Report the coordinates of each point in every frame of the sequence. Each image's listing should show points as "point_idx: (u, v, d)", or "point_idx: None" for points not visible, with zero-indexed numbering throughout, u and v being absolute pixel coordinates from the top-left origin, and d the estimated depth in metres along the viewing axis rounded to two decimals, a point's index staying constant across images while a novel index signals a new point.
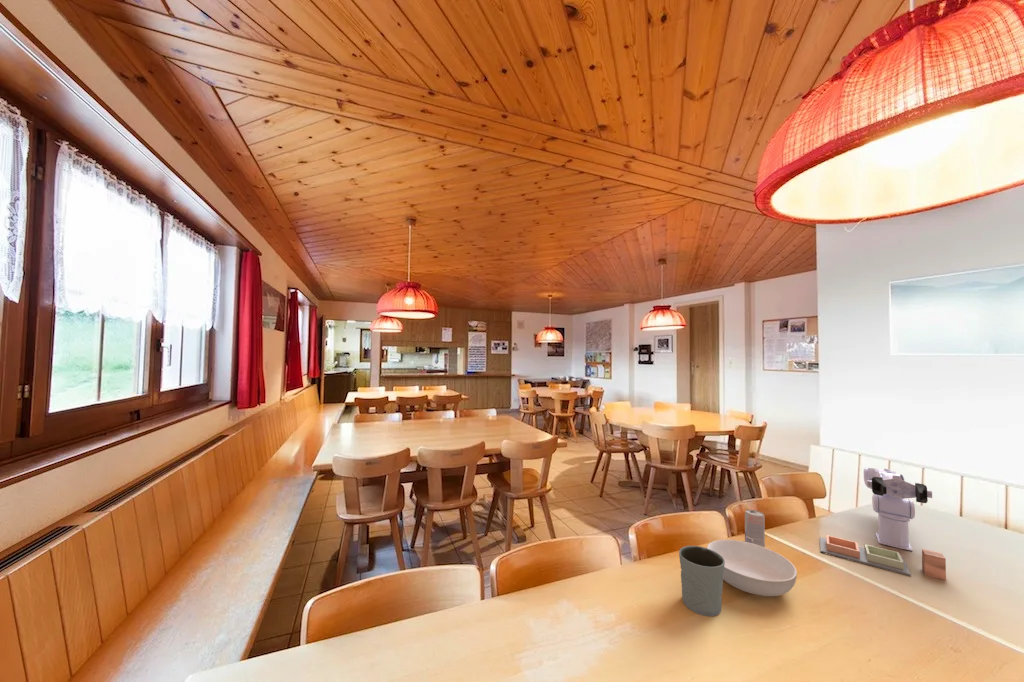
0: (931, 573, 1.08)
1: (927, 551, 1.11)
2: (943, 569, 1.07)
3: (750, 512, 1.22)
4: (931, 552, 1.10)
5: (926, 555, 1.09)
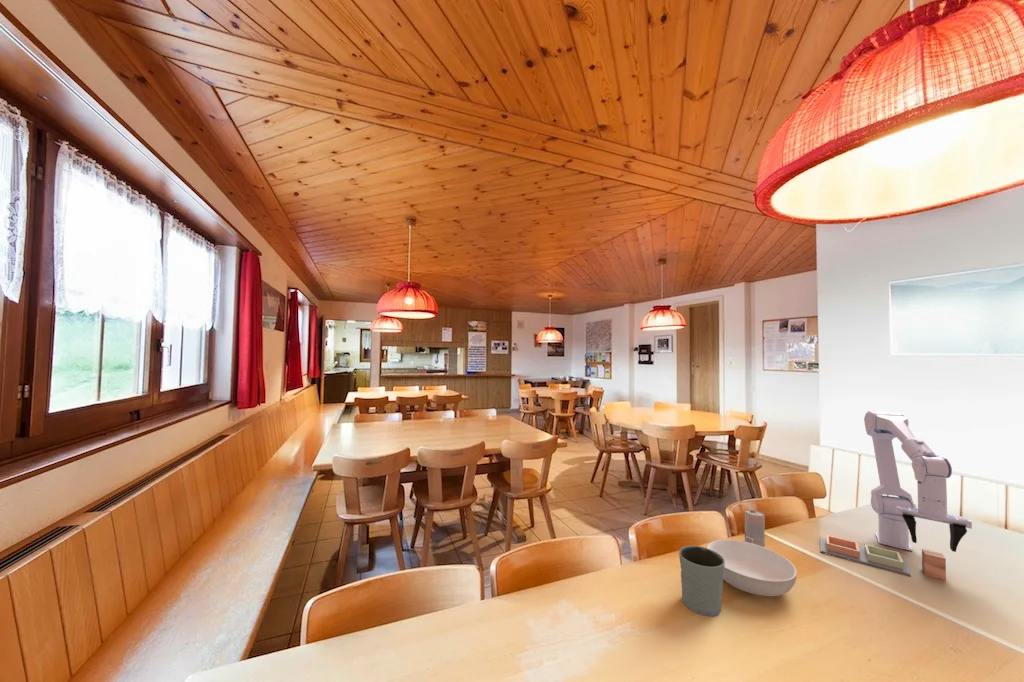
0: (931, 573, 1.08)
1: (927, 551, 1.11)
2: (943, 569, 1.07)
3: (750, 512, 1.22)
4: (931, 552, 1.10)
5: (926, 555, 1.09)
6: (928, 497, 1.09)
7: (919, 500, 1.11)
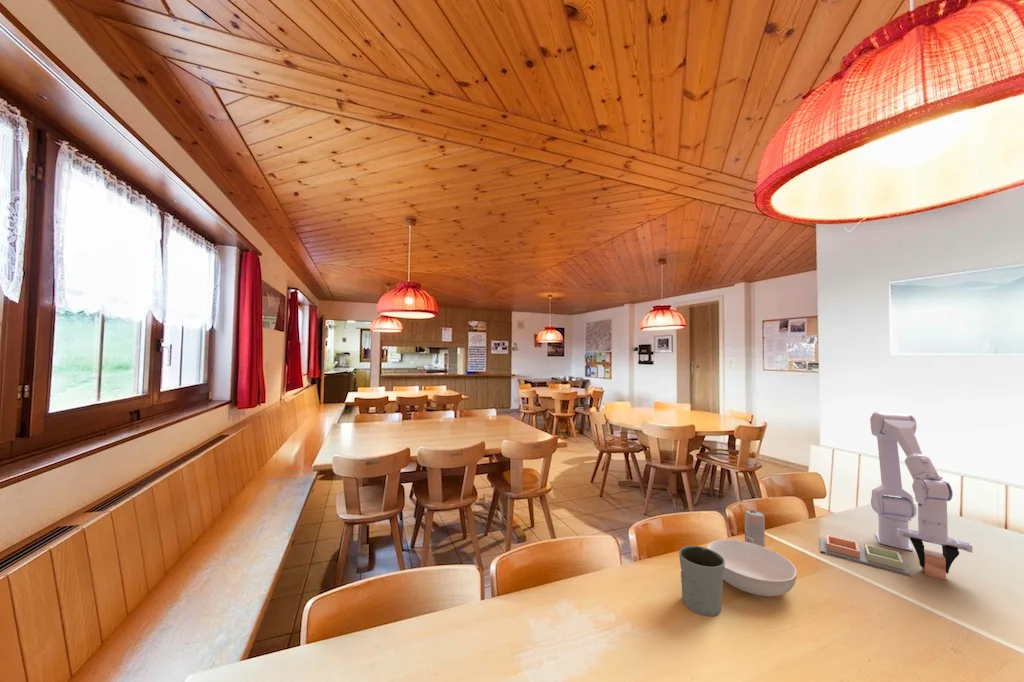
0: (931, 572, 1.08)
1: (927, 551, 1.11)
2: (943, 569, 1.07)
3: (749, 512, 1.22)
4: (931, 552, 1.10)
5: (926, 555, 1.09)
6: (929, 520, 1.09)
7: (920, 522, 1.11)
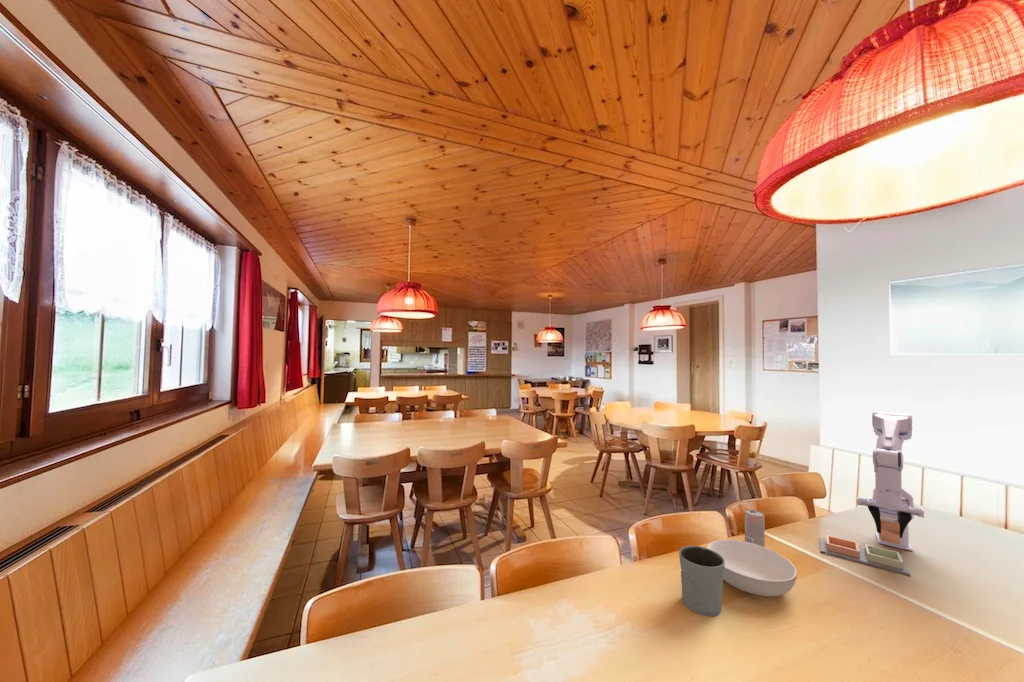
0: (886, 538, 1.14)
1: (883, 518, 1.17)
2: (897, 534, 1.13)
3: (749, 512, 1.22)
4: (887, 518, 1.16)
5: (882, 521, 1.15)
6: (879, 486, 1.16)
7: (876, 491, 1.17)
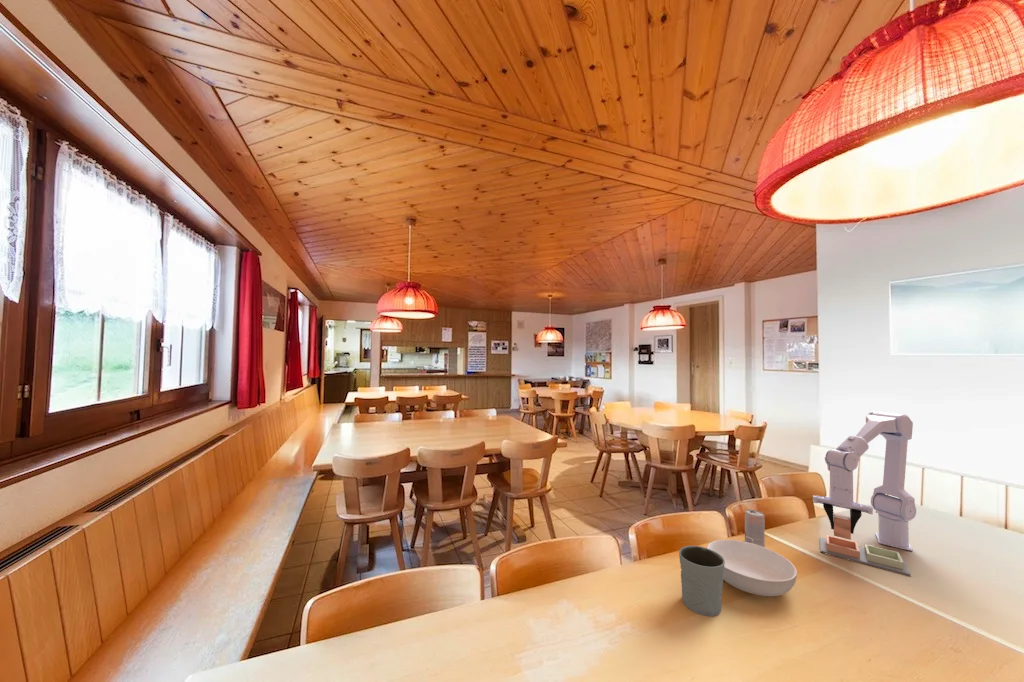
0: (839, 533, 1.21)
1: (837, 515, 1.23)
2: (848, 530, 1.20)
3: (749, 512, 1.22)
4: (840, 515, 1.23)
5: (835, 518, 1.22)
6: (830, 484, 1.24)
7: (830, 489, 1.24)
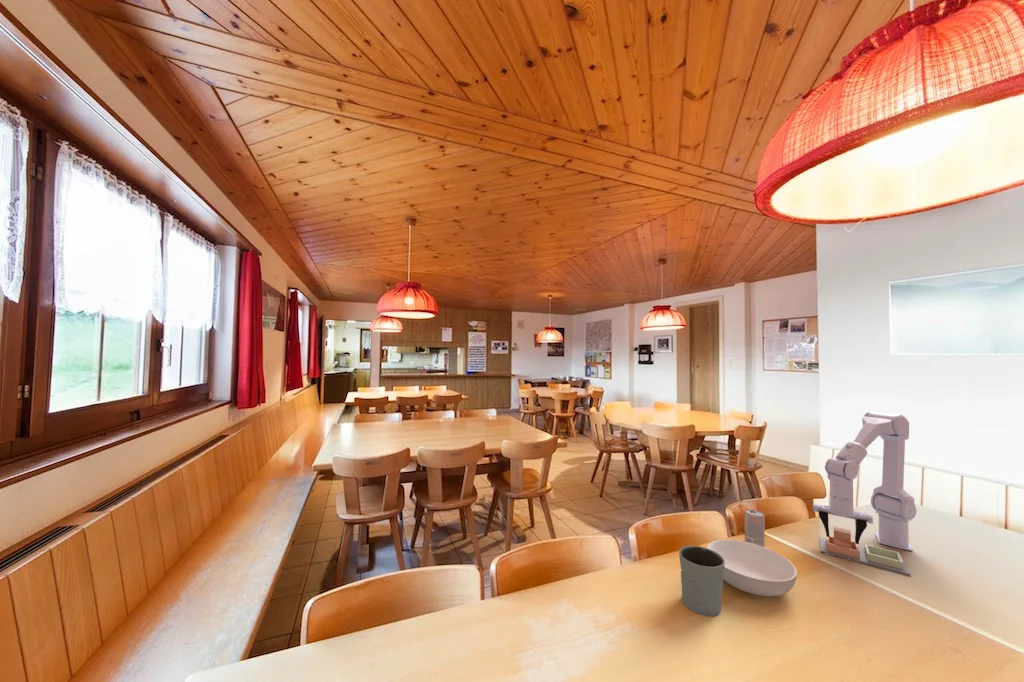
0: None
1: (837, 528, 1.23)
2: (849, 543, 1.19)
3: (749, 512, 1.22)
4: (840, 528, 1.23)
5: (835, 531, 1.22)
6: (830, 493, 1.24)
7: (830, 498, 1.24)
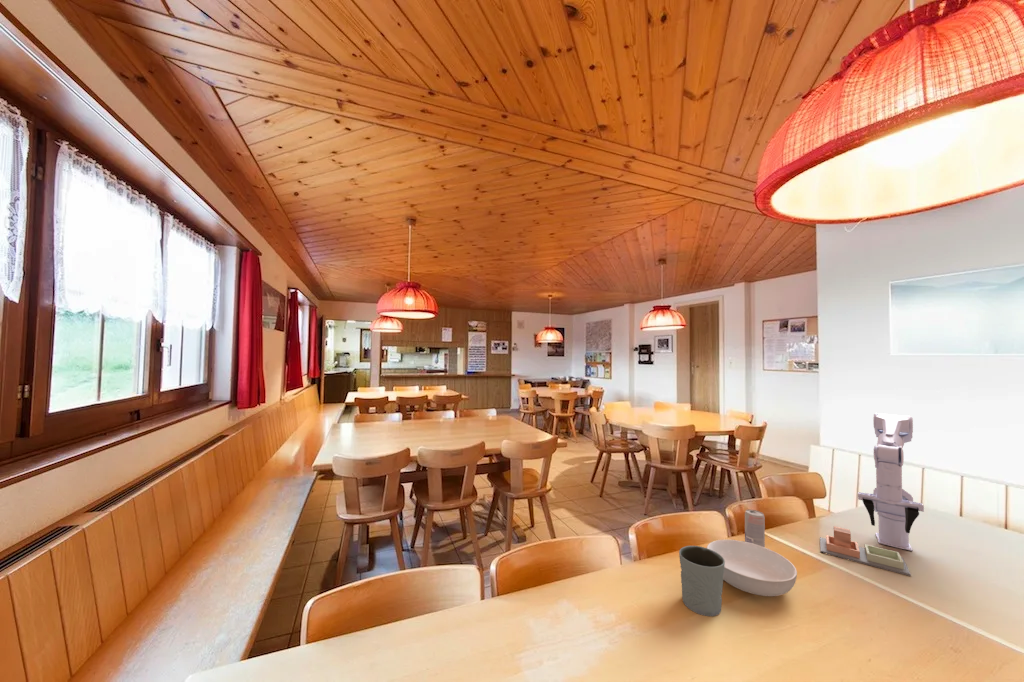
0: None
1: (837, 528, 1.23)
2: (849, 543, 1.19)
3: (749, 512, 1.22)
4: (840, 528, 1.23)
5: (835, 531, 1.22)
6: (880, 481, 1.19)
7: (877, 486, 1.20)
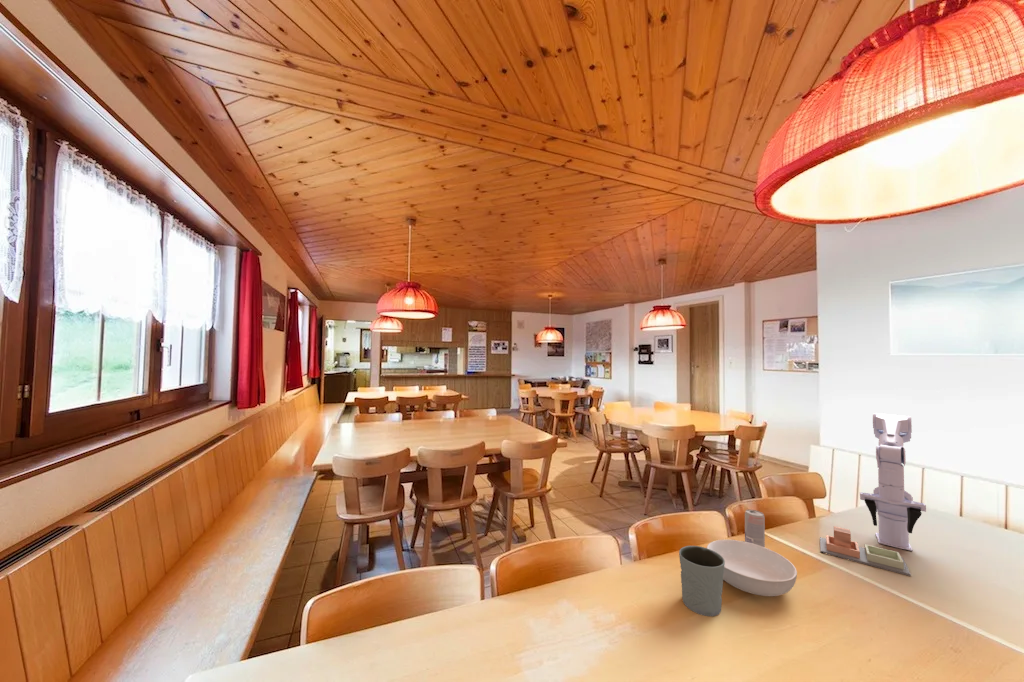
0: None
1: (837, 528, 1.23)
2: (849, 543, 1.19)
3: (749, 512, 1.22)
4: (840, 528, 1.23)
5: (835, 531, 1.22)
6: (882, 482, 1.18)
7: (879, 486, 1.19)
